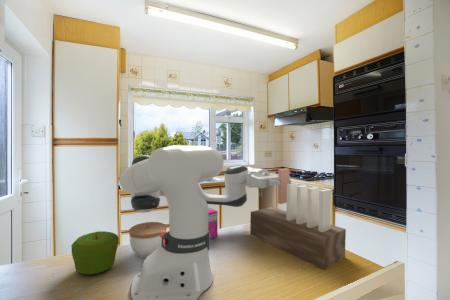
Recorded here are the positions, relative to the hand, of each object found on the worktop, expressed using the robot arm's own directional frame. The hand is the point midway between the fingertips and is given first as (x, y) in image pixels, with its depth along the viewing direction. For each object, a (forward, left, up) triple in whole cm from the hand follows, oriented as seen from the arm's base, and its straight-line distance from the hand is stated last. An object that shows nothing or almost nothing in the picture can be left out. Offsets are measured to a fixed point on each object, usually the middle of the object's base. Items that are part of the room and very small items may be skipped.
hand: (285, 182), depth 91 cm
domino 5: (+6, -16, -14) cm, 22 cm away
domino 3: (+3, -8, -14) cm, 16 cm away
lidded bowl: (-53, +4, -24) cm, 59 cm away
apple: (-68, -3, -24) cm, 73 cm away
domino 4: (+4, -12, -14) cm, 19 cm away
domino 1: (0, +1, -8) cm, 8 cm away
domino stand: (+1, -4, -24) cm, 24 cm away
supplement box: (-29, +12, -24) cm, 40 cm away
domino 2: (+1, -3, -14) cm, 15 cm away
